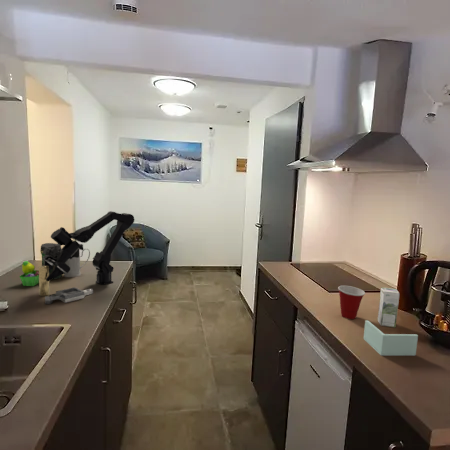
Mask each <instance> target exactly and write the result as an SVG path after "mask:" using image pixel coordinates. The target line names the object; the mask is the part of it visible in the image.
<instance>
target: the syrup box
mask: <svg viewBox="0 0 450 450" xmlns="http://www.w3.org/2000/svg"><path fill="white" fill-rule="evenodd" d="M379 294H380V296H379V303H378V313H377V322H378V324H379V325H380V327H389V328H396V326H397V317H398V310H399V302H400V301H399V300H400V292H399V291H398V289H396V288H389V287H381V288H380V293H379Z"/></svg>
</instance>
